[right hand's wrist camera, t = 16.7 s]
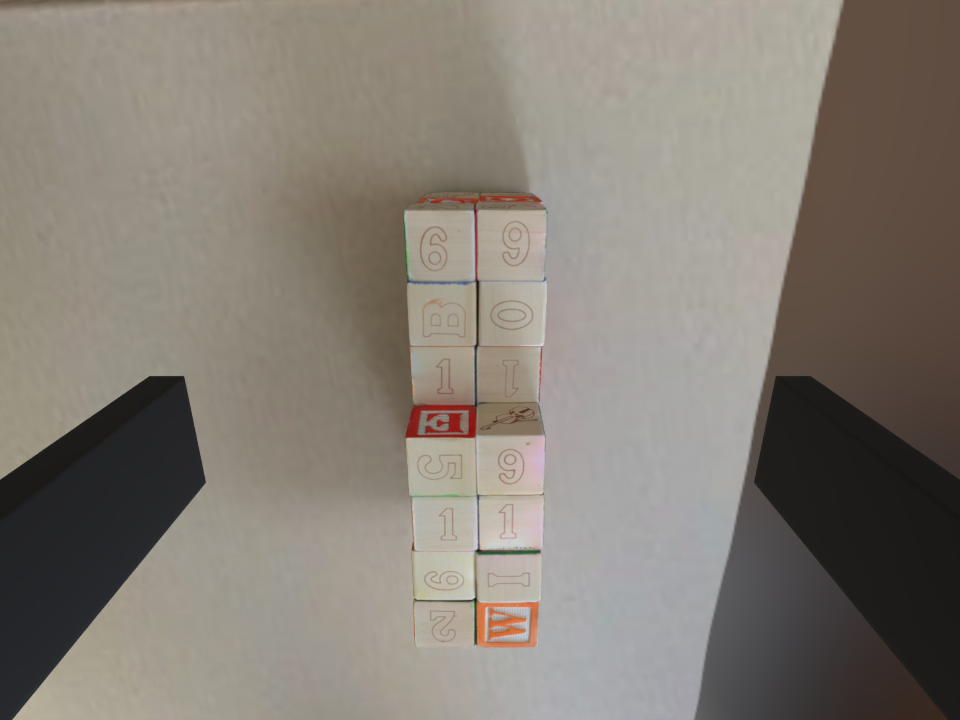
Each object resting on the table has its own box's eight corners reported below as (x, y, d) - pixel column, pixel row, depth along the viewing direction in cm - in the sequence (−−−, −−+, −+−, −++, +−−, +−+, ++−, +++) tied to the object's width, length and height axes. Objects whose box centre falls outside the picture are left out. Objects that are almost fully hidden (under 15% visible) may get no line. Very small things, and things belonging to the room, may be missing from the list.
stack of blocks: (424, 190, 32) (392, 214, 20) (533, 190, 32) (563, 215, 20) (432, 505, 39) (413, 652, 28) (521, 505, 39) (538, 653, 28)
